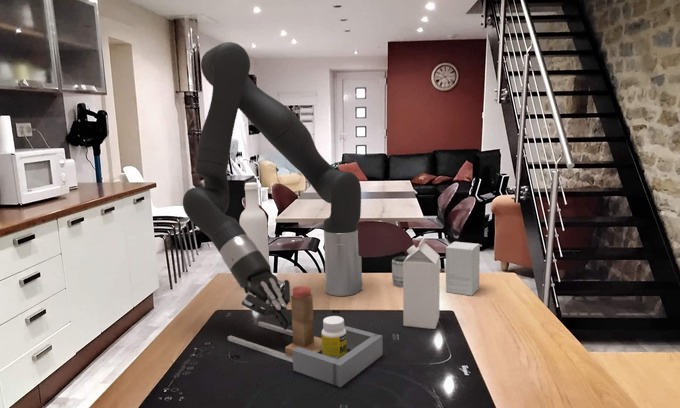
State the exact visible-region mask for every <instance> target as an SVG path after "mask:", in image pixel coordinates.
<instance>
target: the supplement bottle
mask: <svg viewBox="0 0 680 408" xmlns="http://www.w3.org/2000/svg"><path fill="white" fill-rule="evenodd" d="M322 325H323V326H322V327H323V329H321V338H322V355H325V356H329V357H332V358H335V359H339V358H341V357H342V356H344V355H345V354H347V353H348V351H347V350H348V349H346V330H345V328H344V326H345V319H344V318H343V317H341V316H338V315H332V316H331V315H330V316H327V317H324V318H323V320H322Z"/></svg>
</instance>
